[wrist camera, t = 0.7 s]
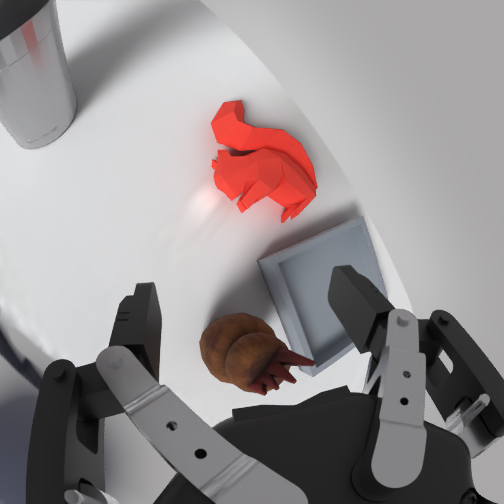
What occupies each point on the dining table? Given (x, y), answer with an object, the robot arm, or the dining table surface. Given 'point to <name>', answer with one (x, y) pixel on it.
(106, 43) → the dining table surface
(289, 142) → the animal figurine
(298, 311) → the slate dish
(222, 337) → the wooden figurine
